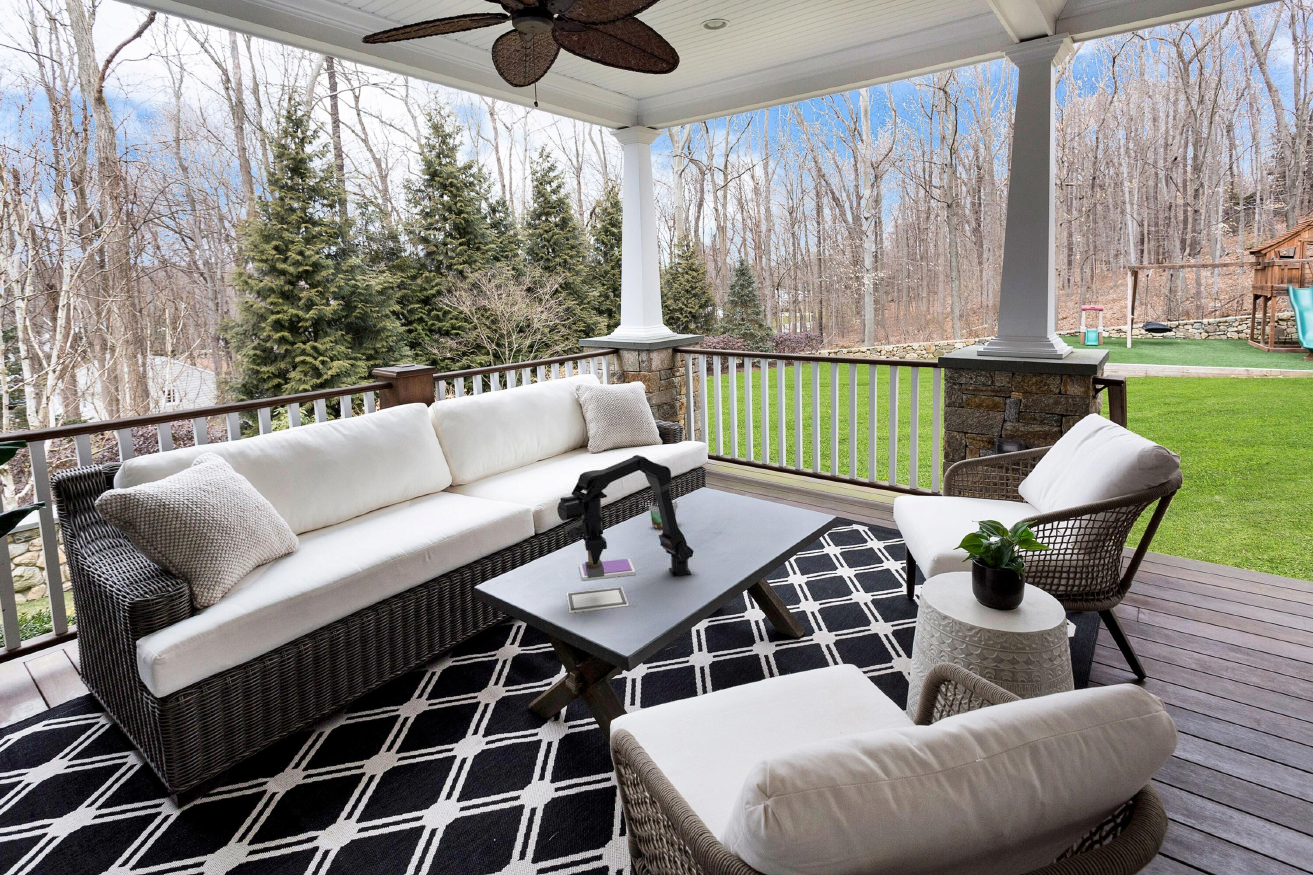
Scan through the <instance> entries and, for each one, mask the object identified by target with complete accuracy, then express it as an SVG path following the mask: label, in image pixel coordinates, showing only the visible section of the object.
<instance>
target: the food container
mask: <svg viewBox="0 0 1313 875" xmlns="http://www.w3.org/2000/svg"><path fill="white" fill-rule="evenodd" d="M672 504H673V508H674V512H675V517H676V516H677V515H676V514H677V510H678V508H679V507H678V506H679V505H678V502H677V500H675V501H674V502H672ZM648 511H650V517H651V524H652V529H654V530H657V531H663V525H662V521H661V516H660V512H659V508H658V504H656V505H651V504H649V506H648ZM676 518H677V517H676Z"/></svg>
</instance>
